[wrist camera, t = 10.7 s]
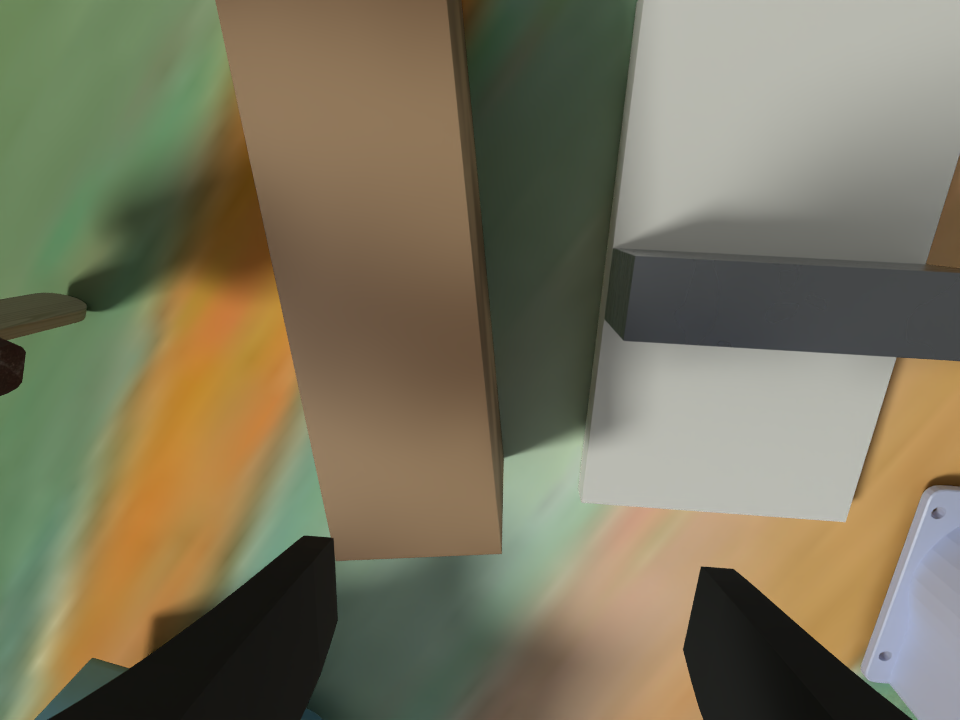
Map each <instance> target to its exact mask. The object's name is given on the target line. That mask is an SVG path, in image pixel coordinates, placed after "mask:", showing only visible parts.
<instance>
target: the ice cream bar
mask: <svg viewBox="0 0 960 720" xmlns="http://www.w3.org/2000/svg"><path fill="white" fill-rule="evenodd" d="M86 309H87V306H86V304H85V303H84V302H83V301H81V300H79V299H77V298H74V297H71V296H67V295H62V294H55V293H35V294H29V295H24V296H18V297H12V298H6V299H0V396H2V395H4V394H7V393H9V392H11V391H13V390H14V389H16V388H18V386H19V385H20V384H21V383H22V379H23V371H24V363H25V355H26V352H25V350H24V349H23V348H22V347H20V346H18V345H16V344H14V343H11V342H9V341H7V340H10V339H14V338H18V337H21V336H25V335H29V334H33V333H37V332H41V331H45V330H49V329H53V328H57V327H61V326H65V325H68V324H72V323H76V322H80V321H82V320H84V318H85V316H86Z"/></svg>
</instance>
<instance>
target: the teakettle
mask: <svg viewBox="0 0 960 720" xmlns="http://www.w3.org/2000/svg"><path fill="white" fill-rule="evenodd" d="M128 669H129V668H126V667H122V666H119V665H116V664H112V663H109V662H106V661H102V660H99V659H96V658H92V659H91V660H90V661H89V662H88V663H87V664H86V665H85V666H84V667H83V668H82V669H81V670H80V671H79V672H78V673H77V674H76V676H75V677H74V678H73V679H72V680H71V681H70V682H69V683H68V684H67V685H66V686H65V687H64V688H63V689H62V691H61V692H60V693H59V694H58V695H57V696H56V697H55V698H54V699H53V700H52V701H51V702H50V703H49V704H48V706H47V707H46V708H45V709H44V710H43V711H42V712H41V713H40V714H39V715H38V716H37V717H36V718H35V719H34V720H47V719H49V718H51V717H53V716H54V715H56V714H58V713H60V712H61V711H63V710H65V709H66V708H68V707H70V706H71V705H73V704H75V703H76V702H78V701H80V700H81V699H83V698H84V697H86V696H88V695H89V694H91V693H92V692H94V691H95V690H97V689H99V688H100V687H102V686H103V685H105V684H106V683H108V682H110V681H111V680H113V679H114V678H116V677H117V676H119V675H121V674H122V673H124V672H125V671H127V670H128ZM301 720H323V719H322V718H321V717H320V716H319V715H317V714H316V713H315V712H313V711H311V710H309V709H305V711H304V713H303V716H302V718H301Z"/></svg>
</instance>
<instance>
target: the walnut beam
mask: <svg viewBox="0 0 960 720" xmlns="http://www.w3.org/2000/svg"><path fill="white" fill-rule="evenodd" d="M215 1H216V5H217V10H218V15H219V19H220V24H221V29H222V33H223V38H224V43H225V47H226V52H227V57H228V61H229V66H230V71H231V75H232V80H233V84H234V89H235V94H236V98H237V103H238V108H239V112H240V117H241V122H242V126H243V131H244V136H245V140H246V145H247V150H248V154H249V159H250V164H251V168H252V173H253V177H254V182H255V187H256V191H257V196H258V201H259V205H260V210H261V215H262V219H263V224H264V229H265V233H266V238H267V243H268V247H269V252H270V257H271V261H272V266H273V270H274V275H275V280H276V284H277V289H278V294H279V298H280V303H281V308H282V312H283V317H284V322H285V326H286V331H287V336H288V340H289V345H290V350H291V354H292V359H293V363H294V368H295V373H296V377H297V382H298V387H299V391H300V396H301V401H302V405H303V410H304V415H305V419H306V424H307V429H308V433H309V438H310V443H311V447H312V452H313V456H314V461H315V466H316V470H317V475H318V480H319V484H320V489H321V494H322V498H323V503H324V508H325V512H326V517H327V522H328V526H329V531H330V536H331V538H334V553H335V559H336V561H346V560H369V559H392V558H415V557H438V556H461V555H484V554H502V513H503V467H504V456H503V445H502V435H501V424H500V413H499V402H498V391H497V380H496V369H495V359H494V348H493V337H492V326H491V315H490V304H489V293H488V283H487V272H486V261H485V250H484V239H483V228H482V217H481V207H480V196H479V185H478V174H477V163H476V152H475V141H474V131H473V120H472V109H471V98H470V87H469V76H468V65H467V55H466V44H465V33H464V22H463V11H462V0H215Z"/></svg>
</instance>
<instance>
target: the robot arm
mask: <svg viewBox="0 0 960 720" xmlns="http://www.w3.org/2000/svg"><path fill="white" fill-rule="evenodd" d="M935 508H937V509H936V510H935V511H934V512H932V511H933V510H934V509H935ZM931 512H932V513H931ZM337 621H338V615H337V594H336V574H335V553H334V538H329V537H316V536H303V537H301V538H300V539H299V540H298V541H296V542H295V543H294V544H293V545H291V546H290V547H289V548H288V549H287V550H285V551H284V552H283V553H282V554H280V555H279V556H278V557H277V558H275V559H274V560H273V561H272V562H271V563H269V564H268V565H267V566H266V567H264V568H263V569H262V570H261V571H260V572H258V573H257V574H256V575H255V576H253V577H252V578H251V579H250V580H249V581H247V582H246V583H245V584H244V585H242V586H241V587H240V588H239V589H237V590H236V591H235V592H233V593H232V594H231V595H230V596H228V597H227V598H226V599H225V600H223V601H222V602H221V603H220V604H218V605H217V606H216V607H214V608H213V609H212V610H211V611H209V612H208V613H207V614H205V615H204V616H202V617H201V618H200V619H198V620H197V621H196V622H194V623H193V624H192V625H190V626H189V627H187V628H186V629H185V630H183V631H182V632H181V633H179V634H178V635H177V636H175V637H174V638H172V639H171V640H170V641H168V642H167V643H166V644H164V645H163V646H162V647H160V648H159V649H157V650H156V651H155V652H153V653H152V654H150V655H149V656H147V657H146V658H144V659H143V660H142V661H140V662H139V663H137V664H136V665H134V666H133V667H131V668H130V669H128V670H127V671H125V672H124V673H122V674H121V675H119V676H117V677H116V678H114V679H113V680H111V681H110V682H108V683H106V684H105V685H103V686H102V687H100V688H99V689H97V690H95V691H94V692H92V693H91V694H89V695H88V696H86V697H84V698H83V699H81V700H80V701H78V702H76V703H75V704H73V705H71V706H70V707H68V708H66V709H65V710H63V711H61V712H60V713H58V714H56V715H54V716H53V717H51V718H49V719H47V720H301V718H302V716H303V713H304V711H305V709H306V707H307V704H308V702H309V700H310V697H311V695H312V693H313V691H314V688H315V686H316V684H317V681H318V679H319V677H320V674H321V671H322V668H323V665H324V662H325V659H326V656H327V653H328V650H329V647H330V644H331V641H332V637H333V634H334V631H335V628H336V624H337ZM683 651H684V655H685V659H686V663H687V667H688V670H689V674H690V678H691V682H692V685H693V689H694V692H695V696H696V699H697V703H698V706H699V709H700V712H701V715H702V717H703V720H912V719H911V718H910V717H908V716H907V715H906V714H905V713H903V712H902V711H901V710H900V709H898V708H897V707H896V706H895V705H893V704H892V703H891V702H889V701H888V700H887V699H886V698H884V697H883V696H882V695H881V694H879V693H878V692H877V691H876V690H874V689H873V688H872V687H871V686H869V685H868V684H867V683H866V682H865V681H863V680H862V679H861V678H860V677H859V676H857V675H856V674H855V673H854V672H853V671H851V670H850V669H849V668H848V667H847V666H845V665H844V664H843V663H842V662H841V661H839V660H838V659H837V658H836V657H835V656H834V655H832V654H831V653H830V652H829V651H828V650H827V649H825V648H824V647H823V646H822V645H821V644H820V643H818V642H817V641H816V640H815V639H814V638H813V637H811V636H810V635H809V634H808V633H807V632H806V631H805V630H803V629H802V628H801V627H800V626H799V625H798V624H797V623H795V622H794V621H793V620H792V619H791V618H790V617H789V616H787V615H786V614H785V613H784V612H783V611H782V610H781V609H779V608H778V607H777V606H776V605H775V604H774V603H773V602H772V601H770V600H769V599H768V598H767V597H766V596H765V595H764V594H762V593H761V592H760V591H759V590H758V589H757V588H756V587H754V586H753V585H752V584H751V583H750V582H749V581H747V580H746V579H745V578H744V577H743V576H741V575H740V574H739V573H738V572H736V571H735V570H734V569H726V568H714V567H701V569H700V574H699V578H698V583H697V588H696V592H695V597H694V601H693V606H692V611H691V615H690V620H689V625H688V629H687V634H686V638H685V643H684V648H683ZM861 671H862V673H863V674H864V676H865V677H866V678H867V679H868V680H869V681H872V682H878V683H890V685H891V686H892V688H893V689H894V690H895V691H896V693H897V694H898V695H899V696H900V698H901V699H902V700H903V701H904V702H905V704H906V705H907V706H908V707H909V709H910V710H911V711H912V712H913V714H914V715H915V716H916V717H917V719H918V720H960V487H959V486H945V485H935V486H932V487H929V488H928V489H926V490H925V491H924V493H923V494H922V496H921V499H920V502H919V505H918V508H917V510H916V513H915V516H914V519H913V522H912V524H911V527H910V530H909V533H908V536H907V538H906V541H905V544H904V547H903V550H902V552H901V555H900V558H899V561H898V564H897V566H896V569H895V572H894V575H893V578H892V580H891V583H890V586H889V589H888V592H887V594H886V597H885V600H884V603H883V606H882V608H881V611H880V614H879V617H878V620H877V622H876V625H875V628H874V631H873V634H872V636H871V639H870V642H869V645H868V648H867V650H866V653H865V656H864V659H863V662H862V664H861Z"/></svg>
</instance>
